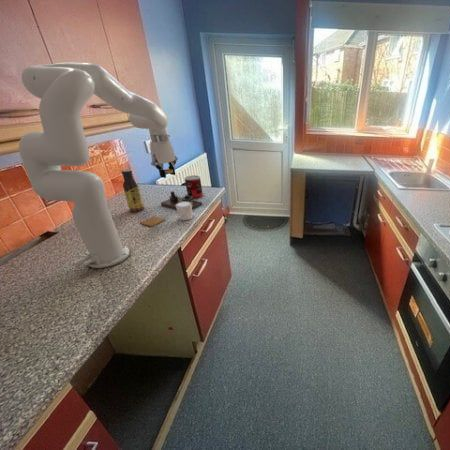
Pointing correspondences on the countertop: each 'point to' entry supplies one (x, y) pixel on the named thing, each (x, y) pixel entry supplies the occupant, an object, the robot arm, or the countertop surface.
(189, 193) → the canned food
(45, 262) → the countertop surface
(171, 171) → the brass ring
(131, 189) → the sauce bottle
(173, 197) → the peg rack
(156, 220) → the cork mat
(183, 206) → the white short cylinder
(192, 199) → the wood ring
